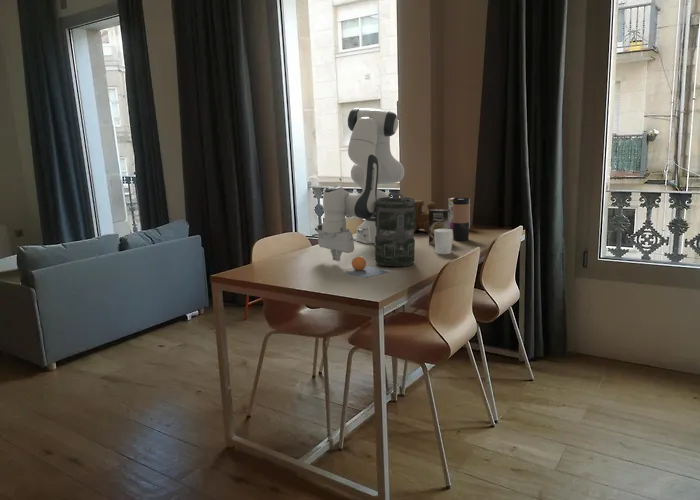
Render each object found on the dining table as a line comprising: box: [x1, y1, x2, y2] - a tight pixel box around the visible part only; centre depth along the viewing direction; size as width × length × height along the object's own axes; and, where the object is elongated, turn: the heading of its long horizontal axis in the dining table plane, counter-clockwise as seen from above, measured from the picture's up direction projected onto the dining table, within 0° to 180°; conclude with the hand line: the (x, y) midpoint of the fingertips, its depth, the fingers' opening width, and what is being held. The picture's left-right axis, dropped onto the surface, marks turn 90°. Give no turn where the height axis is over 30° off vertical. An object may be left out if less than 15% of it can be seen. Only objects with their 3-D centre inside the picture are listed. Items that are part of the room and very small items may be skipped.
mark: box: [344, 266, 390, 279], centre depth 203 cm, size 12×12×1 cm
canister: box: [374, 192, 416, 268], centre depth 212 cm, size 16×16×28 cm
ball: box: [351, 256, 367, 271], centre depth 206 cm, size 6×6×6 cm
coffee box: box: [428, 208, 450, 246], centre depth 250 cm, size 9×6×16 cm
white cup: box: [434, 229, 453, 255], centre depth 231 cm, size 8×8×10 cm
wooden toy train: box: [414, 199, 437, 234], centre depth 283 cm, size 20×11×17 cm, turn 66°
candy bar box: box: [447, 197, 471, 230], centre depth 288 cm, size 11×5×16 cm, turn 46°
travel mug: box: [452, 197, 470, 242], centre depth 257 cm, size 8×8×20 cm
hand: (336, 260), depth 217 cm, fingers closed
